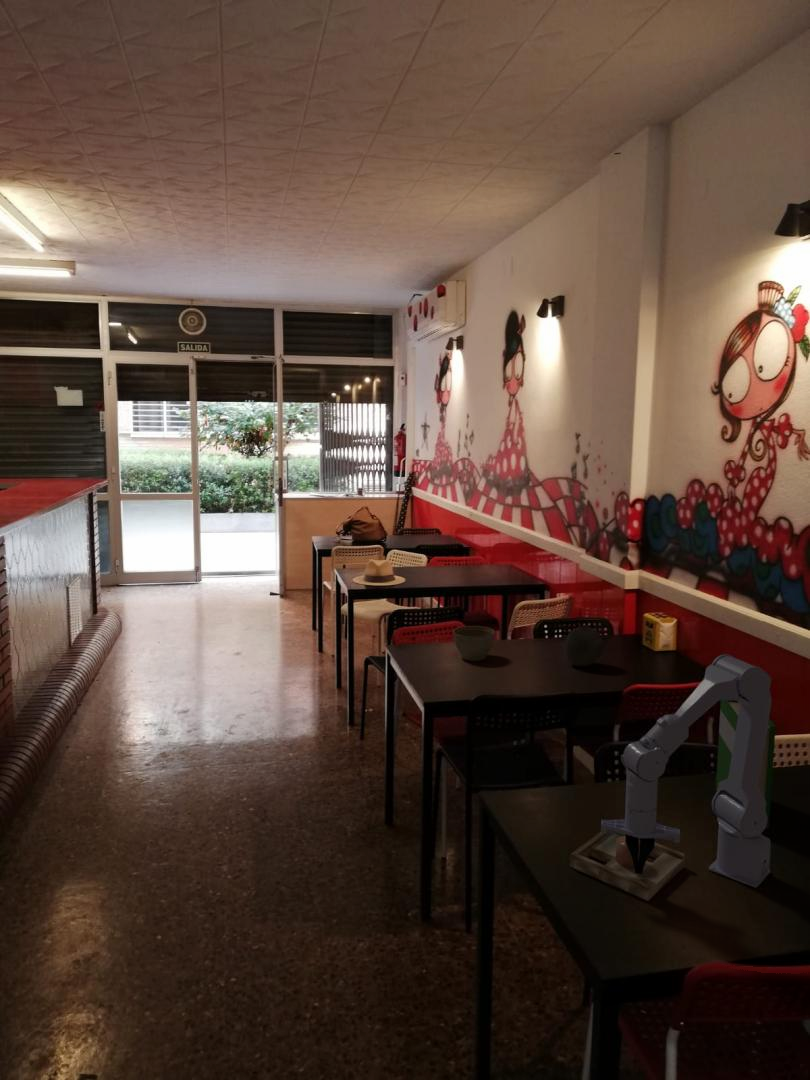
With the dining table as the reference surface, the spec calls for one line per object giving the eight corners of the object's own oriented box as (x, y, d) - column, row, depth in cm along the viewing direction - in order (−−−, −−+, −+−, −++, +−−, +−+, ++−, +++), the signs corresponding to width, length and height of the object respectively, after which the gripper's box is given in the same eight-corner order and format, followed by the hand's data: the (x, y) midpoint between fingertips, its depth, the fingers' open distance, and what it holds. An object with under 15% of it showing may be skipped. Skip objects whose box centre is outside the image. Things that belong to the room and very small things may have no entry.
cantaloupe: (574, 673, 285) (575, 633, 283) (558, 662, 299) (558, 624, 297) (609, 670, 288) (610, 630, 286) (591, 659, 302) (592, 621, 300)
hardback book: (768, 828, 173) (775, 726, 170) (733, 826, 175) (739, 724, 171) (747, 792, 191) (753, 699, 187) (715, 790, 192) (720, 697, 188)
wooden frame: (684, 866, 158) (685, 854, 158) (647, 901, 147) (648, 887, 146) (609, 837, 170) (609, 825, 170) (570, 866, 158) (570, 853, 158)
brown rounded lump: (646, 862, 156) (647, 843, 156) (630, 870, 153) (631, 851, 153) (626, 851, 160) (626, 833, 160) (610, 859, 157) (611, 841, 157)
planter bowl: (450, 652, 312) (450, 626, 310) (489, 651, 313) (489, 625, 312) (457, 664, 296) (457, 637, 294) (498, 663, 298) (498, 635, 296)
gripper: (679, 800, 151) (676, 865, 153) (602, 791, 155) (600, 855, 156) (682, 817, 144) (678, 885, 146) (601, 808, 148) (599, 874, 150)
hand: (638, 870), depth 151 cm, fingers closed
